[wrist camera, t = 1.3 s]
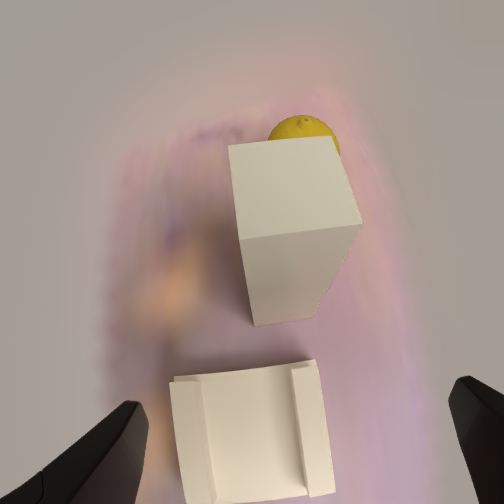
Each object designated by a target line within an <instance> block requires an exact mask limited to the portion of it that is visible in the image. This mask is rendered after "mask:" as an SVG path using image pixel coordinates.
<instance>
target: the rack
mask: <svg viewBox="0 0 504 504" xmlns="http://www.w3.org/2000/svg"><path fill="white" fill-rule="evenodd" d="M169 387H170V397H171V406H172V415H173V423H174V431H175V439H176V446H177V453H178V460H179V466H180V472H181V478H182V484H183V490H184V495H185V501H186V504H232V503H247V502H258V501H267V500H276V499H283V498H290V497H296V496H302V495H309V498H311V497H316V496H321V495H326V494H330V493H335V483H334V475H333V467H332V459H331V451H330V444H329V437H328V429H327V422H326V416H325V409H324V402H323V396H322V389H321V383H320V377H319V371H318V365H316V361H315V359H313V360H307V361H302V362H296V363H289V364H283V365H276V366H269V367H262V368H255V369H247V370H238V371H229V372H220V373H209V374H198V375H184V376H174V382H169Z"/></svg>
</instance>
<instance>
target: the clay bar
mask: <svg viewBox="0 0 504 504" xmlns="http://www.w3.org/2000/svg"><path fill="white" fill-rule="evenodd" d="M228 153H229V161H230V170H231V178H232V186H233V195H234V203H235V211H236V219H237V228H238V236H239V243H240V248H241V254H242V260H243V266H244V271H245V277H246V283H247V288H248V294H249V300H250V305H251V311H252V316H253V322H254V327H256V326H263V325H270V324H277V323H284V322H291V321H297V320H303V319H309V318H312V317H313V315H314V313H315V312H316V310H317V308H318V306H319V305H320V303H321V301H322V299H323V298H324V296H325V294H326V292H327V291H328V289H329V287H330V285H331V283H332V282H333V280H334V278H335V276H336V274H337V273H338V271H339V269H340V267H341V265H342V263H343V261H344V260H345V258H346V256H347V254H348V252H349V250H350V248H351V246H352V244H353V243H354V241H355V239H356V237H357V235H358V233H359V231H360V229H361V227H362V225H363V222H362V219H361V216H360V213H359V210H358V207H357V204H356V201H355V198H354V195H353V192H352V189H351V186H350V184H349V181H348V178H347V175H346V173H345V170H344V167H343V165H342V162H341V159H340V157H339V154H338V152H337V149H336V147H335V144H334V142H333V139H332V137H331V136H318V137H304V138H292V139H281V140H271V141H262V142H253V143H244V144H237V145H229V146H228Z"/></svg>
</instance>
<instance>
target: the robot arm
mask: <svg viewBox="0 0 504 504" xmlns="http://www.w3.org/2000/svg"><path fill="white" fill-rule="evenodd" d="M448 402H449V407H450V411H451V414H452V418H453V421H454V425H455V429H456V433H457V437H458V440H459V444H460V447H461V450H462V453H463V455H464V458H465V461H466V464H467V467H468V470H469V473H470V475H471V479H472V482H473V485H474V488H475V491H476V495H477V498H478V501H479V504H504V395H503V394H501V393H500V392H498V391H496V390H494V389H493V388H491V387H489V386H487V385H486V384H484V383H482V382H480V381H479V380H477V379H475V378H473V377H471V376H464V377H460V378H458V379H457V380H456V382H455V384H454V387H453V389H452V391H451V393H450V396H449V400H448ZM148 428H149V423H148V419H147V417H146V414H145V412H144V409H143V406H142V404H141V403H140V402H138V401H130V400H127V401H124V402H123V403H122V404H121V405H120V406H118V407H117V408H116V409H115V410H114V411H113V412H111V413H110V414H109V415H108V416H107V417H105V418H104V419H103V420H102V421H101V422H99V423H98V424H97V425H96V426H95V427H93V428H92V429H91V430H90V431H89V432H87V433H86V434H85V435H84V436H83V437H81V438H80V439H79V440H78V441H77V442H75V443H74V444H73V445H72V446H71V447H69V448H68V449H67V450H66V451H64V452H63V453H62V454H61V455H59V456H58V457H57V458H56V459H55V460H53V461H52V462H51V463H50V464H48V465H47V466H46V467H45V468H43V470H42V471H39V472H38V473H37V474H36V475H34V476H33V477H32V478H31V479H29V480H28V481H27V482H25V483H24V484H22V485H21V486H20V487H18V488H17V489H15V490H13V491H12V492H10V493H9V494H7V495H6V496H4V497H2V498H1V499H0V504H135V500H136V496H137V492H138V488H139V484H140V480H141V476H142V471H143V465H144V457H145V449H146V442H147V435H148Z"/></svg>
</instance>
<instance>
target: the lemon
mask: <svg viewBox="0 0 504 504" xmlns="http://www.w3.org/2000/svg"><path fill="white" fill-rule="evenodd" d="M318 136H331V137H332V139H333V142H334V144H335V147H336V149H337V152H338V154H339V157H340V150H339V145H338V141H337V138H336V136H335V135H334V133H333V131H332V130H331V129H330V128H329V127H328V126H327V125H326V124H325V123H324V122H322V121H321V120H319V119H317V118H314V117H311V116H306V115H299V116H293V117H290V118H287V119H285V120H283V121H282V122H280V123H279V124H278V125H277V126H276V127H275V128H274V129H273V131H272V132H271V134H270V136H269V138H268V140H267V141H271V140H281V139H292V138H304V137H318Z"/></svg>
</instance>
